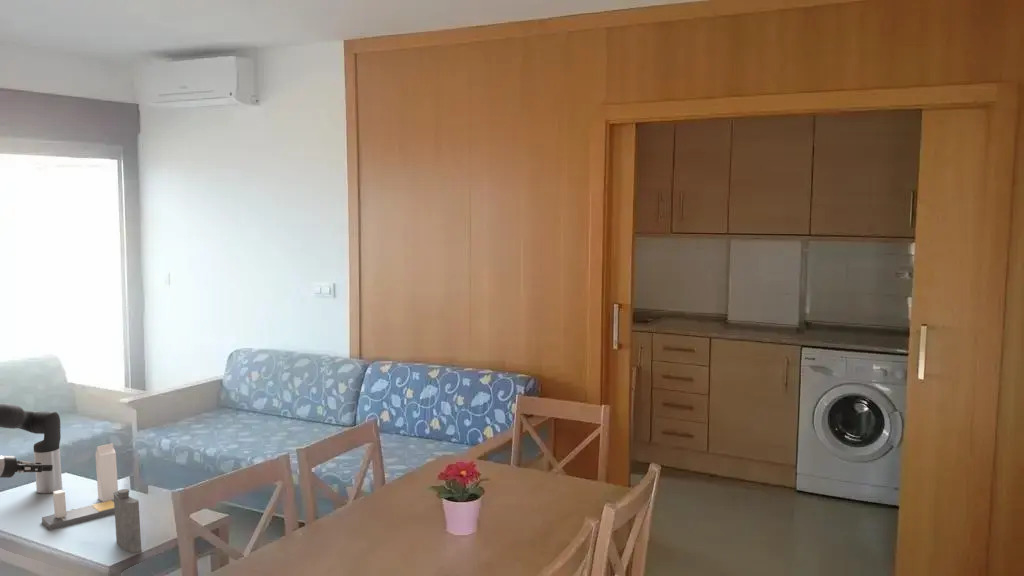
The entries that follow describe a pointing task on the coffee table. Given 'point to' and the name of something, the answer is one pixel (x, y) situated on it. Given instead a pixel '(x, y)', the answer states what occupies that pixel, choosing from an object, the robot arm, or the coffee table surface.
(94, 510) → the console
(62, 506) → the block
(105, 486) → the milk
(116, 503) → the hip flask
